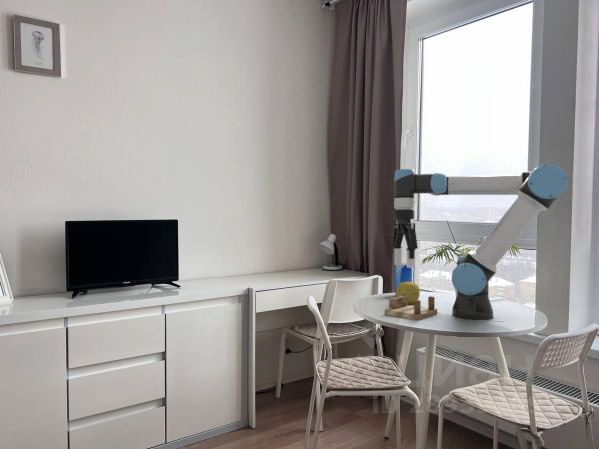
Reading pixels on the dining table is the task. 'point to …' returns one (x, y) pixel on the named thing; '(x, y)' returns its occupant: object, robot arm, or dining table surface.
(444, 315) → the dining table surface
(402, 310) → the stool seat
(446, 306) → the dining table surface
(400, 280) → the beer can
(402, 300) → the hinge leg
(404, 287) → the fruit
